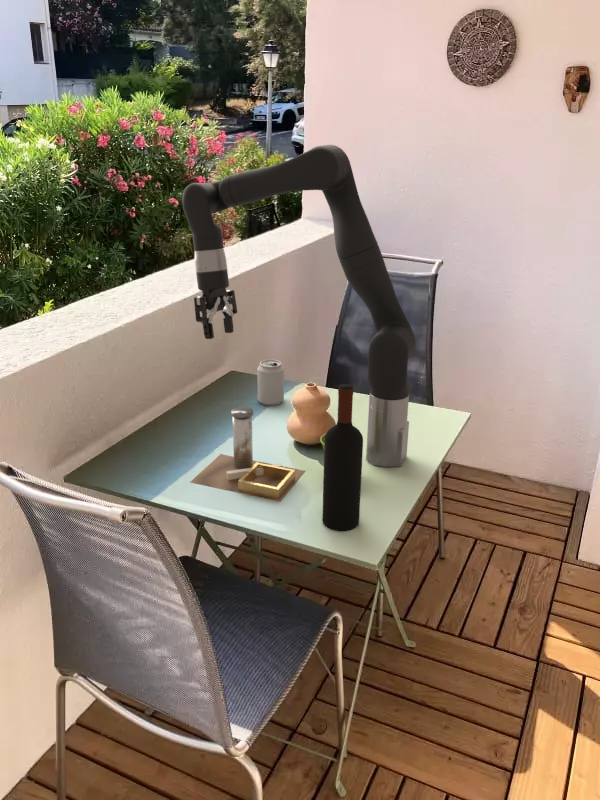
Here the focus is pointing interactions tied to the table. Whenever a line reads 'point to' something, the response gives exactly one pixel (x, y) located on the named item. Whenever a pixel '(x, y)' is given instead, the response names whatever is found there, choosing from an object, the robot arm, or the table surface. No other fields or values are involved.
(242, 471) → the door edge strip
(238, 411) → the silver cylindrical piece
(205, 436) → the table surface
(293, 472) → the keeper
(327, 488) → the wine bottle
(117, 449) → the table surface
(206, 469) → the board
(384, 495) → the table surface
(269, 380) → the can
